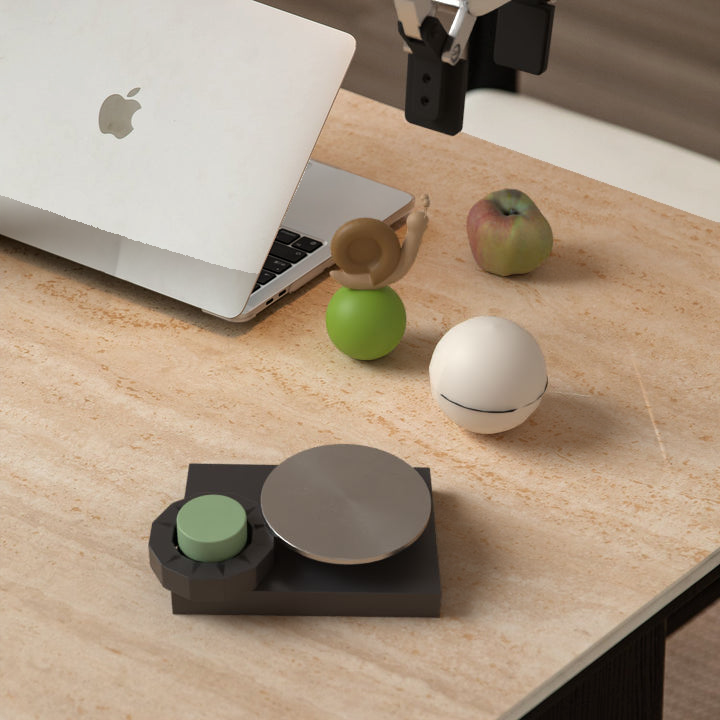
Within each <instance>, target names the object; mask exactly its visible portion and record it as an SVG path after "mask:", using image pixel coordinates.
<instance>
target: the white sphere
mask: <svg viewBox="0 0 720 720" xmlns="http://www.w3.org/2000/svg"><path fill="white" fill-rule="evenodd" d="M428 373H429V383H430V393H431V395H432V397H433V400H434V401H435V402H436V405H437V407H439V409H440V411H441V412H442V414H443V415H444V416H445V417H446V418H447V419H448V420H450V421H451V422H452V423H453V424H456V425H457V426H458V427H460V428H462V429H464V430H467V431H469V432H470V433H471V432H472V433H476V434H481V435H493V434H497V433H503V432H506V431H510V430H512V429H514V428H516V427H518V426H521V425H522V424H523V423H524V422H525V421H526V420H527V419H528V418H529V417H530V416H531V415H533V413H534V412H535V411H536V409H538V408H539V406H540V404H541V401H542V398H543V396H544V394H545V393H546V390H547V388H548V384H549V377H548V369H547V363H546V359H545V355H544V353H543V351H542V349H541V347H540V345H539V342H538V341H537V339H535V337H534V336H533V335H532V334H531V333H530V332H529V331H528V330H526V329H525V328H524V327H523V326H521V325H520V324H519V323H517V322H516V321H513V320H511V319H508V318H507V317H503V316H497V315H480V316H473V317H471V318H469V319H467V320H464V321H462V322H460V323H458V324H456V325H454V326H453V327H451V328H450V329H449V330H448V331H447V332H445V334H444V335H443V336H442V338H441V339H440V340H439V341H438V342H437V344H436V346H435V348H434V351H433V352H432V355H431V360H430V363H429V367H428ZM549 392H550V393H556V394H563V395H565V394H566V395H573V396H582V397H591V394H581V393H573V392H565V391H558V390H557V391H556V390H551V389H550V390H549Z"/></svg>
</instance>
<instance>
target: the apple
mask: <svg viewBox="0 0 720 720" xmlns="http://www.w3.org/2000/svg"><path fill="white" fill-rule="evenodd" d="M466 233H467V239H468V243H469V247H470V251H471V254H472V256H473V259H474V261H475V263H476V265H478V266H479V267H480V269H481V270H483V271H486V272H488V273H491V274H494V275H498V276H501V277H508V276H511V275H521V274H523V275H524V274H529V273H532V272H533V271H535V270H536V269H537V268H539V266H541V265H542V264H543V263H544V262H546V260H547V259H548V258H549V256H550V255H551V253H552V250H553V247H554V234H553V230H552V227H551V225H550V223H549V221H548V220H547V218H546V217H545V216H544V215H543V213H542V211H541V210H540V209H539V206H537V204H536V202H534V200H532V198H530V196H529V195H528V194H527V193H525V192H523V191H521V190H520V189H517V188H503V189H499V190H496V191H495V190H494V191H492V192H490V193H488V194H487V195H485V196H483V198H481V199H479V200H477V201H476V202H475V204H473V205H472V207H471V208H470V209H469V212H468V214H467V217H466Z"/></svg>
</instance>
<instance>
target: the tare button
mask: <svg viewBox="0 0 720 720" xmlns="http://www.w3.org/2000/svg"><path fill="white" fill-rule="evenodd" d="M177 533H178V544H179V547H180V549H181V550H182V551H183V553H184V554H185V555H186V556H188V557H189V558H191V559H193V560H196V561H199V562H204V563H218V562H223V561H226V560H229V559H231V558H233V557H234V556H236V555H237V554H239V553H240V552H241V550H242V549H243V548H244V546H245V544H246V541H247V517H246V512H245V510H244V508H243V507H242V506H241V504H240V503H238V502H237V501H236V500H234V499H232V498H229V497H226V496H222V495H205V496H201V497H197V498H195V499H193V500H191V501H189V502H188V503H186V504H185V505H184V506H183V507H182V508H181V510H180V511H179V513H178V516H177Z"/></svg>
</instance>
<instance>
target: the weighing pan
mask: <svg viewBox="0 0 720 720" xmlns="http://www.w3.org/2000/svg"><path fill="white" fill-rule="evenodd" d="M277 465H278V466H277V467H276V468H275V469H274V470H273V471H272V472H271V473H270V475H269V476H268V478H267V479H266V481H265V483H264V486H263V488H262V492H261V512H262V517H263V519H264V522H265V524H266V526H267V527H268V529H269V530H270V532H271V533H272V534H273V535H274V536H275V538H276V539H277V540H279V541H280V542H281V543H282V544H283V545H285V546H286V547H288V548H289V549H291V550H292V551H294V552H296V553H298V554H300V555H302V556H305V557H308V558H310V559H314V560H317V561H321V562H326V563H333V564H346V565H347V564H363V563H370V562H374V561H379V560H382V559H385V558H388V557H391V556H393V555H395V554H397V553H399V552H401V551H403V550H404V549H406V548H407V547H409V546H410V545H411V544H412V543H413V542H415V541H416V540H417V538H418V537H419V536H420V535H421V534H422V532H423V531H424V529H425V528H426V525H427V523H428V521H429V517H430V511H431V498H430V493H429V490H428V488H427V485H426V483H425V482H424V480H423V478H422V477H421V476H420V475H419V473H418V472H417V471H416V470H415V469H414V468H413V467H414V466H412V465H411V464H409V463H408V462H406V461H405V460H404V459H402V458H400V457H399V456H397V455H395V454H393V453H390V452H389V451H386V450H383V449H380V448H377V447H373V446H368V445H362V444H354V443H333V444H324V445H318V446H314V447H311V448H307V449H304V450H301V451H299V452H297V453H295V454H293V455H290V456H288V457H287V458H286V459H285V460H283V461H282V462H280V463H279V464H277Z"/></svg>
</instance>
